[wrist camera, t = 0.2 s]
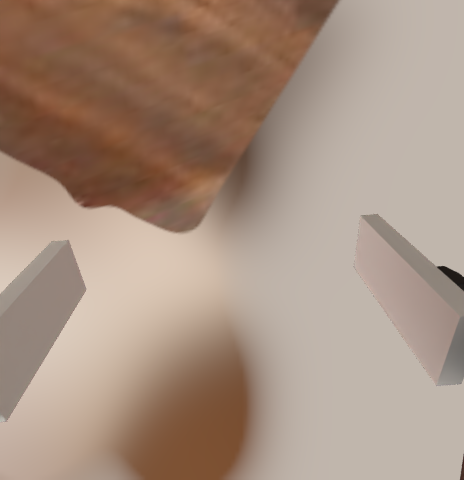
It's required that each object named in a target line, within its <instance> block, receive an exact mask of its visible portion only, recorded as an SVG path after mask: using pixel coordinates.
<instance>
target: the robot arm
mask: <svg viewBox="0 0 464 480" xmlns="http://www.w3.org/2000/svg"><path fill="white" fill-rule="evenodd" d="M354 268H355V270H356V271H357V272H358V274H359V275H360V277H361V278H362V280H363V281H364V282H365V284H366V285H367V287H368V288H369V290H370V291H371V293H372V294H373V296H374V297H375V298H376V300H377V301H378V303H379V304H380V306H381V307H382V308H383V310H384V311H385V313H386V314H387V316H388V317H389V318H390V320H391V321H392V323H393V324H394V326H395V327H396V328H397V330H398V332H399V333H400V334H401V336H402V337H403V339H404V340H405V342H406V343H407V344H408V346H409V347H410V349H411V350H412V352H413V353H414V355H415V356H416V357H417V359H418V360H419V362H420V363H421V365H422V366H423V368H424V369H425V370H426V372H427V373H428V375H429V376H430V378H431V379H432V380H433V382H434V383H435V385H436V386H441V385H455V384H461V383H462V381H463V379H464V277H463V276H462V275H460V274H459V273H457V272H455V271H453V270H451V269H449V268H447V267H445V266H438V267H436V266H435V265H434V264H433V263H432V262H430V261H429V260H428V259H427V258H426V257H425V256H424V255H423V254H421V253H420V252H419V251H418V250H417V249H416V248H415V247H414V246H413V245H411V244H410V243H409V242H408V241H407V240H406V239H405V238H404V237H402V236H401V235H400V234H399V233H398V232H397V231H396V230H395V229H393V228H392V227H391V226H390V225H389V224H388V223H387V222H386V221H385V220H383V219H382V218H381V217H380V216H379V215H378V214H374V215H362V216H360V223H359V231H358V239H357V247H356V255H355V263H354ZM85 291H86V287H85V284H84V281H83V279H82V276H81V273H80V270H79V267H78V265H77V262H76V259H75V257H74V254H73V251H72V248H71V245H70V243H69V240H65V241H52V242H51V243H50V244H49V245H48V246H47V247H46V248H45V249H44V250H43V251H42V252H41V253H40V254H39V255H38V256H37V257H36V258H35V259H34V260H33V261H32V262H31V263H30V264H29V265H28V266H27V267H26V268H25V269H24V270H23V271H22V272H21V273H20V274H19V275H18V276H17V277H16V278H15V279H14V280H13V281H12V283H10V284H9V285H8V286H7V287H6V289H5V290H4V291H3V292H2V293H1V294H0V422H6V421H7V420H8V418H9V417H10V415H11V413H12V412H13V410H14V409H15V407H16V405H17V403H18V402H19V400H20V399H21V397H22V395H23V394H24V392H25V390H26V389H27V387H28V385H29V384H30V382H31V380H32V379H33V377H34V376H35V374H36V372H37V371H38V369H39V367H40V366H41V364H42V362H43V360H44V359H45V357H46V356H47V354H48V352H49V351H50V349H51V347H52V346H53V344H54V342H55V341H56V339H57V337H58V336H59V334H60V333H61V331H62V329H63V328H64V326H65V324H66V323H67V321H68V319H69V318H70V316H71V314H72V313H73V311H74V309H75V308H76V306H77V304H78V303H79V301H80V300H81V298H82V296H83V295H84V293H85ZM460 480H464V456H463V463H462V470H461V477H460Z"/></svg>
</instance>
